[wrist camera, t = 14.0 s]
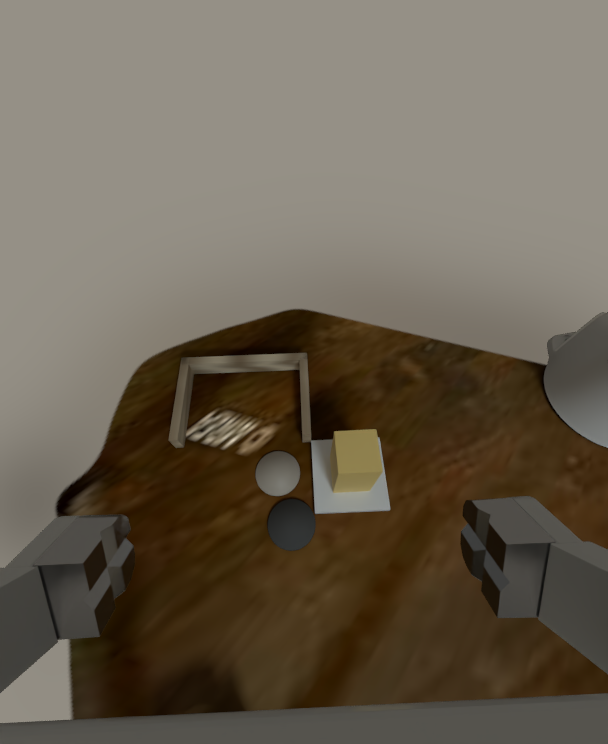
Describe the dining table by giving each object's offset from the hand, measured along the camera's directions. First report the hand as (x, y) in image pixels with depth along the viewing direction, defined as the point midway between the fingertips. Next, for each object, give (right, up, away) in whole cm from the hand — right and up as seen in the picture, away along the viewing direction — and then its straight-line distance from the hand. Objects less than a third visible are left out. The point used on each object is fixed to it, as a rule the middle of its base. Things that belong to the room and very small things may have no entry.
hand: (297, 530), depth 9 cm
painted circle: (-3, -8, +32) cm, 33 cm away
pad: (+5, -8, +32) cm, 33 cm away
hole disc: (-1, -12, +29) cm, 32 cm away
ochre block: (+5, -7, +31) cm, 32 cm away
